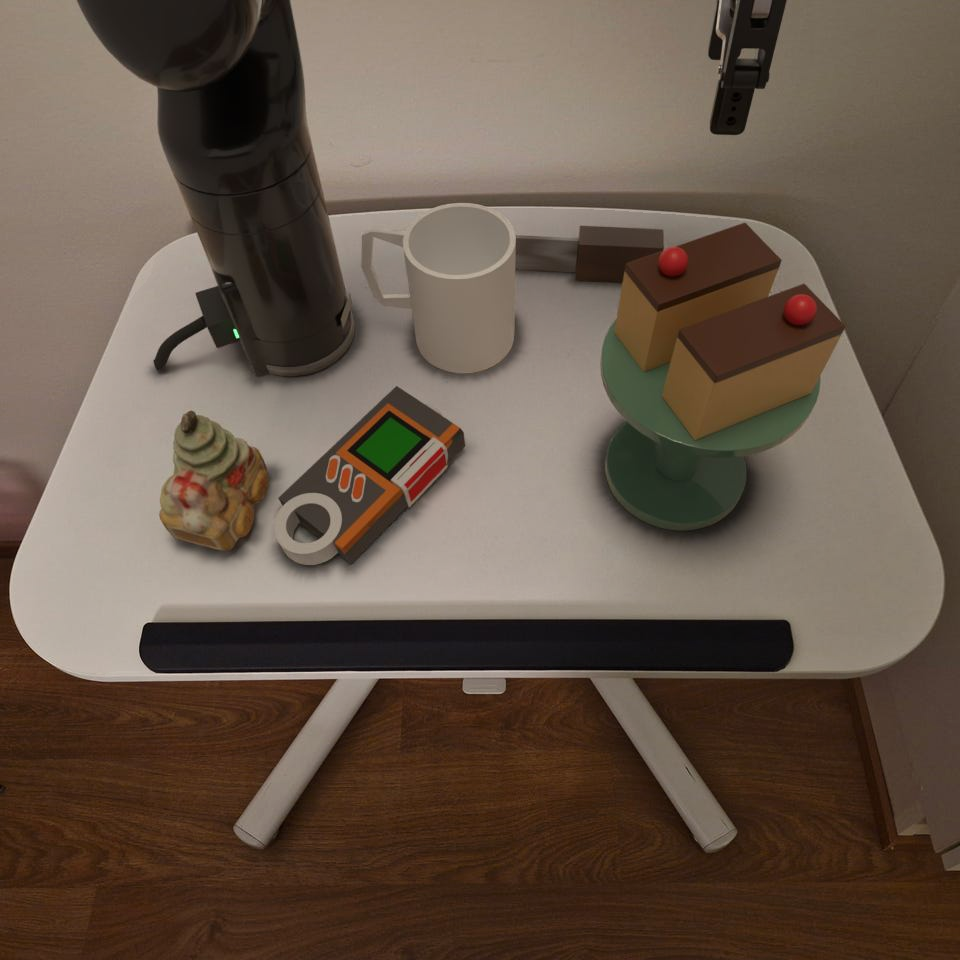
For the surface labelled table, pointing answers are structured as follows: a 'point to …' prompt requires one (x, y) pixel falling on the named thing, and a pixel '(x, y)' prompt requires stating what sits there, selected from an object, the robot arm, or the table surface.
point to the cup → (455, 284)
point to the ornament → (211, 484)
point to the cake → (723, 329)
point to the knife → (589, 252)
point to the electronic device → (367, 479)
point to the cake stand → (680, 447)
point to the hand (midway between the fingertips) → (724, 93)
